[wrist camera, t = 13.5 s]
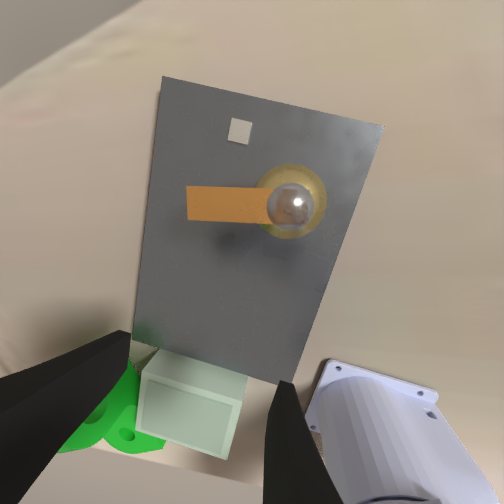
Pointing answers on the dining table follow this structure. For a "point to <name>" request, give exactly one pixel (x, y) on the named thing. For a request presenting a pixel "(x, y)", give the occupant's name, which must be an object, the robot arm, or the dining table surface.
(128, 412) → the mechanical part
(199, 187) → the t key
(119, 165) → the dining table surface
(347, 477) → the robot arm
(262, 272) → the latch plate
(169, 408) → the cover
